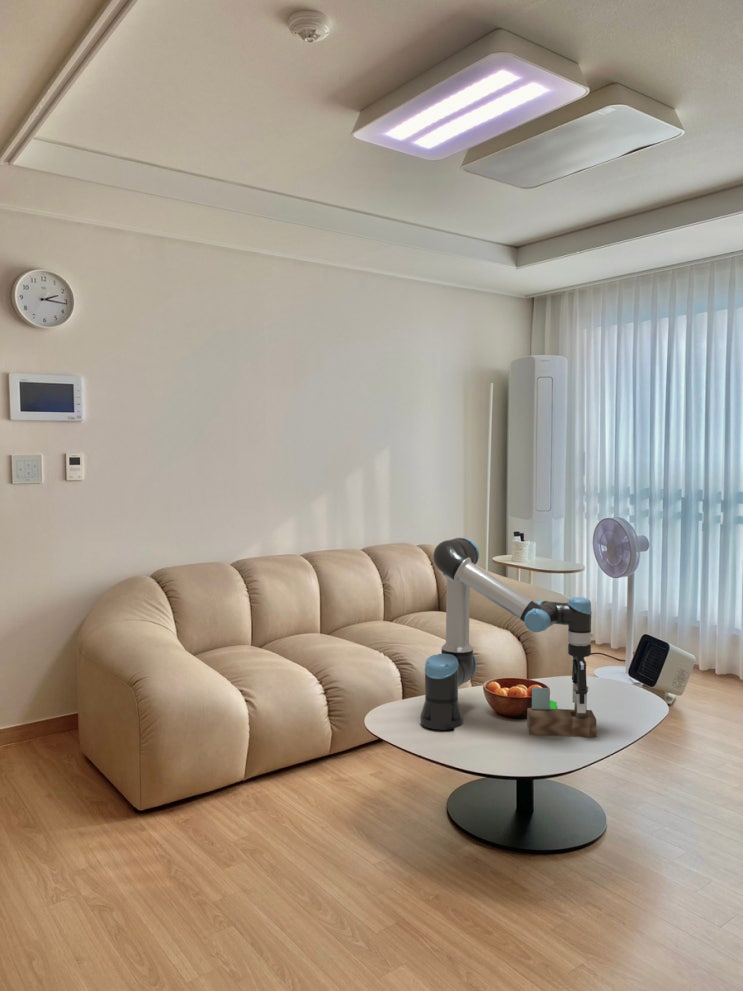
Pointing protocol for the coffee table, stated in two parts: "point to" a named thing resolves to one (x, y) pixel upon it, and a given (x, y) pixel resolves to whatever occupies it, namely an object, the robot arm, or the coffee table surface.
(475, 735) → the coffee table surface
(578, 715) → the grey cylinder
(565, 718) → the block
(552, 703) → the mechanical part
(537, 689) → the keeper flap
